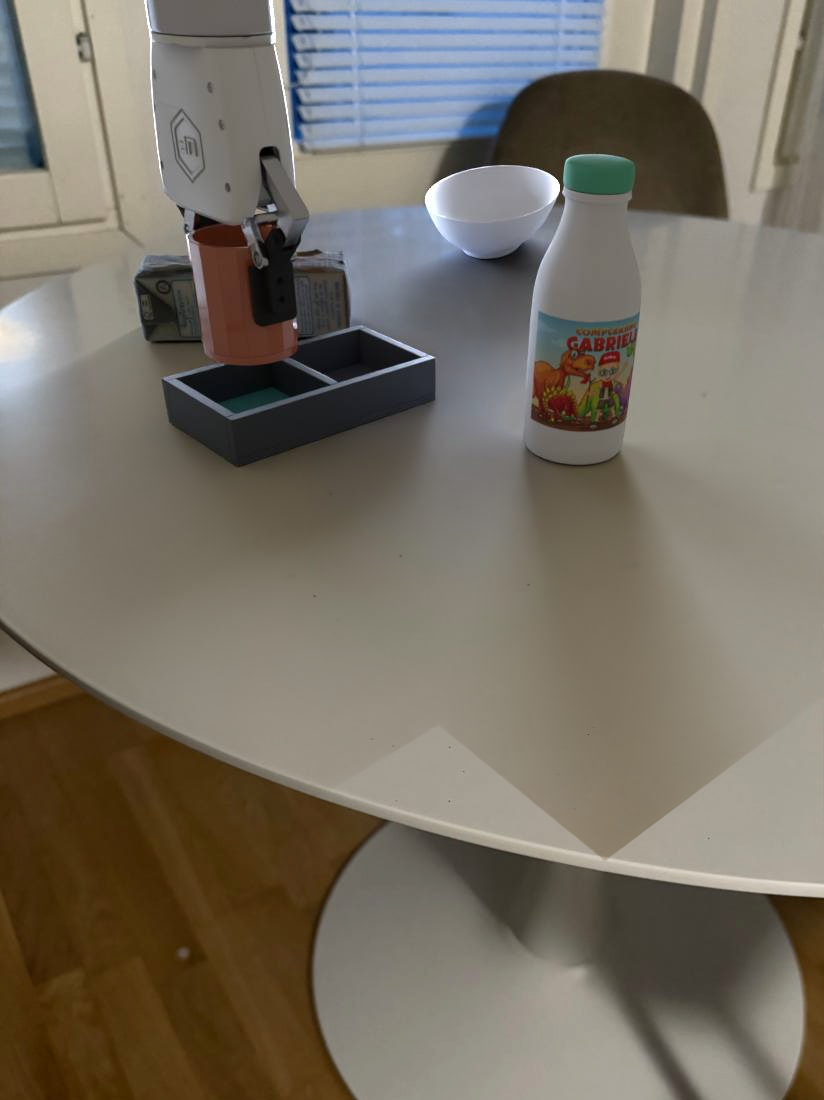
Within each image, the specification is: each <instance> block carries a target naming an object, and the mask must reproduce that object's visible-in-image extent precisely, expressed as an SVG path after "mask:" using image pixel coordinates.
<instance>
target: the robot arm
mask: <svg viewBox="0 0 824 1100" xmlns="http://www.w3.org/2000/svg"><path fill="white" fill-rule="evenodd" d="M144 4H145V11H146V18H147V25H148V29H149V30H148V32H149V39H150V47H149V48H150V49H149V50H150V51H149V52H150V53H149V58H150V60H149V63H150V86H151V87H150V88H151V100H152V101H151V103H152V111H153V112H152V113H153V121H154V130H155V138H156V148H157V156H158V163H159V172H160V178H161V185H162V188H163V192H164V194H165V195H166V197H167V198H168V199H169V200H170V201H171V202H172V203H174V204H175V206H176V208H177V209H178V210H179V212H180V214H181V217H182V218H183V222H182V230H183V233H184V236H185V237H186V236H187V235H188V234H189V233H190V232H191V231H192V230H195V229H198V228H200V227H203V226H208V225H214V224H219V223H220V224H221V223H224V224H227V225H231V226H236V225H240V224H241V227H242V230H243V233H244V236H245V239H246V242H247V245H248V248H249V250H250V253H251V256H252V259H253V262H254V264H255V265H252V266H248V273H249V281H250V290H251V298H252V307H253V315H254V322H255V324H257V325H259V326H261V327H265V326H269V325H273V324H277V323H281V322H285V321H289V320H293V319H295V318H296V316H297V307H296V296H295V285H294V274H293V262H295V261H296V259H297V252H298V251H297V250H298V248H299V246H300V245H301V242H302V235H303V234H304V231H305V229H306V227H307V225H308V222H309V221H310V213H309V209H308V207H307V206H306V204H305V201H304V200H303V199H302V197H301V196H300V194H299V192H298V190H297V189H296V169H295V163H294V162H295V161H294V150H293V142H292V135H291V127H290V121H289V114H288V113H289V112H288V107H287V100H286V96H285V95H286V94H285V89H284V84H283V78H282V73H281V68H280V64H279V60H278V55H277V51H276V46H275V44H274V43H276V31H275V30H276V29H275V17H274V16H275V15H274V8H273V7H274V6H273V0H144ZM257 210H260V211H262V212H260V213H256V211H257ZM268 225H271V227H272V230H271V231H270V233H269V235H268V236H267V238H266V240H265V242H263V239H262V236H261V233H260V231H259V228H258V227H263V226H268Z"/></svg>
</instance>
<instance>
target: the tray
mask: <svg viewBox="0 0 824 1100" xmlns="http://www.w3.org/2000/svg"><path fill="white" fill-rule="evenodd" d="M297 342H298V349H297V351H296V352H295V353H294V354H293V355H291V356H290V357H288V358H286V359H283V360H280V361H277V362H273V363H268V364H262V365H248V366H245V365H230V364H224V363H220V362H216V363H211V364H209V365H205V366H200V367H198V368H193V369H190V370H186V371H182V372H179V373H175V374H171V375H167V376H164V377H161V384H162V390H163V395H164V396H163V397H164V402H165V408H166V412H167V418H168V422H169V423H170V424H171V425H173V426H174V427H176V428H178V429H179V430H180V431H182V432H183V433H185V434H187V435H188V436H190V437H191V438H192V439H194V440H196V441H197V442H199V443H200V444H202V445H204V446H205V447H207V448H208V449H209V450H211V451H213V452H214V453H216V454H218V455H219V456H220V457H222V458H223V459H225V460H226V461H228V462H229V463H231V464H233V465H234V466H236V467H241V466H245V465H248V464H251V463H254V462H256V461H260V460H263V459H265V458H268V457H271V456H274V455H277V454H280V453H283V452H286V451H289V450H291V449H295V448H297V447H300V446H304V445H307V444H309V443H312V442H315V441H318V440H321V439H324V438H327V437H330V436H333V435H336V434H338V433H341V432H344V431H347V430H350V429H353V428H356V427H360V426H362V425H366V424H367V423H371V422H374V421H376V420H380V419H383V418H385V417H388V416H392V415H394V414H397V413H401V412H403V411H407V410H409V409H412V408H414V407H418V406H420V405H423V404H427V403H430V402H432V401H435V400H436V365H437V364H436V362H437V361H436V359H437V358H436V356H435V357H434V356H432V355H430V354H427V353H425V352H423V351H420V350H418V349H416V348H414V347H412V346H409V345H407V344H405V343H403V342H401V341H398V340H395V339H393V338H391V337H389V336H386V335H384V334H382V333H380V332H378V331H375V330H372V329H370V328H369V327H367V326H364V325H362V324H358V325H354V326H350V328H347V329H343V330H340V331H336V332H332V333H328V334H325V335H321V336H317V337H309V338H307V339H302V340H299V341H298V340H297Z"/></svg>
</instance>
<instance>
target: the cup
mask: <svg viewBox="0 0 824 1100" xmlns="http://www.w3.org/2000/svg"><path fill="white" fill-rule="evenodd" d="M258 228H259V231H260V233H261V236H262V239H263V242H265V240H266V238H267V236H268V235H269V233H270V231H271V230H272V227H271V225H268V226H263V227H258ZM185 239H186V244H187V252H188V255H189V258H190V265H191V272H192V278H193V285H194V291H195V298H196V305H197V311H198V318H199V324H200V331H201V337H202V340H201V343H202V345H203V351H204V354H205V356H206V357H207V358H209V359H210V360H212V361H214V362H216V363H224V364H230V365H245V366H248V365H262V364H268V363H273V362H277V361H280V360H283V359H286V358H288V357H290V356H291V355H293V354H294V353H295V352H296V351H297V349H298V340H299V337H298V332H297V321H296V318H295V319H293V320H289V321H285V322H281V323H277V324H273V325H269V326H265V327H261V326H259V325H257V324H255V322H254V315H253V307H252V298H251V290H250V281H249V273H248V266H252V265H255V264H254V262H253V259H252V256H251V253H250V250H249V248H248V245H247V242H246V239H245V236H244V233H243V230H242V227H241V224H240V225H236V226H231V225H227V224H224V223H221V224H220V223H219V224H214V225H208V226H203V227H200V228H198V229H195V230H192V231H191V232H190V233H189V234H188V235H187V236H185Z"/></svg>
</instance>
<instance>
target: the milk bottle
mask: <svg viewBox="0 0 824 1100" xmlns="http://www.w3.org/2000/svg"><path fill="white" fill-rule="evenodd" d="M563 166H564V167H563V179H562V181H563V189H562V192H561V194H562V196H563V197H564V209H563V213H562V216H561V219H560V221H559V224H558V227H557V230H556V231H555V233H554V236H553V238H552V240H551V242H550V244H549V246H548V248H547V250H546V252H545V254H544V256H543V258H542V259H541V263H540V265H539V268H538V269H537V275H536V279H535V281H534V282H535V283H534V286H533V292H532V300H531V301H532V302H531V311H530V322H529V334H528V347H527V350H528V351H527V360H526V361H527V362H526V376H525V391H524V406H523V419H522V420H523V421H522V427H523V428H522V439H523V441H524V444H525V446H526V448H527V449H528V450H529V451H530V452H531V453H533V454H535V455H536V456H537V457H540V458H542V459H544V460H548V461H550V462H552V463H553V462H554V463H559V464H563V465H575V466H576V465H577V466H578V465H579V466H580V465H581V466H582V465H593V464H599V463H602V462H605V461H608V460H610V459H612V458H614V457H615V456H616V455H617V454H618V452H620V450H621V448H622V446H623V443H624V438H625V430H626V425H627V417H628V410H629V402H630V395H631V387H632V381H633V372H634V364H635V359H636V358H635V357H636V350H637V342H638V341H637V340H638V332H639V325H640V314H641V303H642V281H641V280H642V279H641V274H640V267H639V263H638V261H637V257H636V254H635V250H634V247H633V246H634V245H633V243H632V239H631V234H630V229H629V221H628V205H629V201H631V200H632V199H633V194H632V193H633V188H634V185H635V178H636V164H635V163H634V161H632V160H630V159H628V158H625V157H621V156H616V155H612V154H611V155H609V154H601V153H599V154H596V153H594V154H593V153H591V154H589V153H587V154H578V155H577V154H576V155H573V156H570V157H568V158H567V159H565V162H564V165H563Z"/></svg>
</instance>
